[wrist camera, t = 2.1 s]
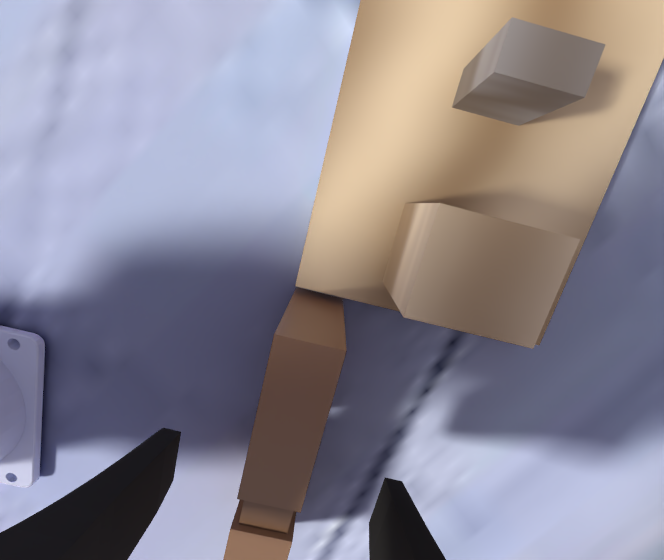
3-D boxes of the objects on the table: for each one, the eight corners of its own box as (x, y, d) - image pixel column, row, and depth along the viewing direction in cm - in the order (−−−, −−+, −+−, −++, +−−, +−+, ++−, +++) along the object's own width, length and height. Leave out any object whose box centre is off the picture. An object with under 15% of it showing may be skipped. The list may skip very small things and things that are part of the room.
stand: (298, 280, 13) (276, 323, 8) (413, -219, 10) (490, -643, 5) (524, 335, 14) (627, 407, 9) (716, -122, 10) (1066, -422, 5)
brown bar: (243, 516, 16) (203, 649, 11) (296, 286, 13) (273, 333, 9) (281, 524, 16) (258, 660, 11) (342, 298, 14) (346, 351, 9)
